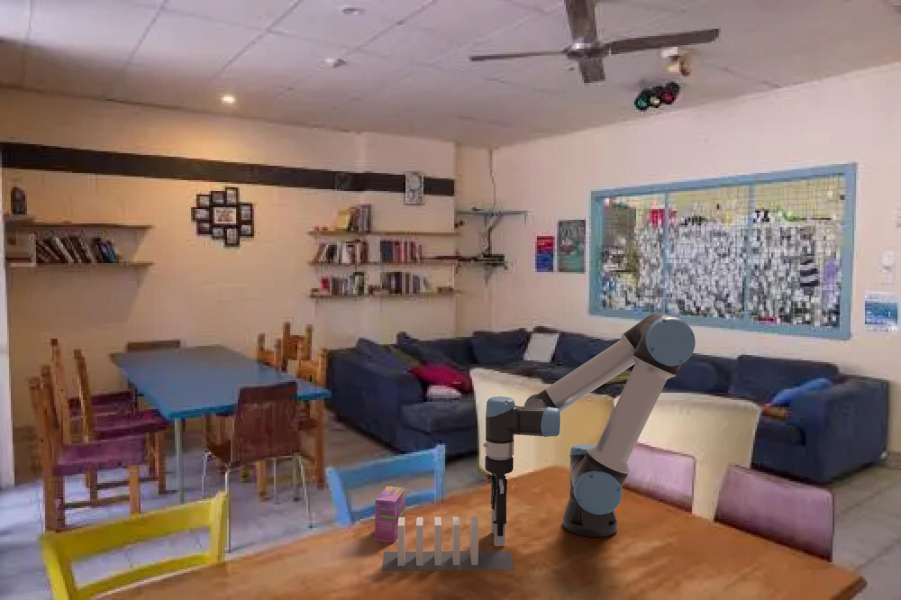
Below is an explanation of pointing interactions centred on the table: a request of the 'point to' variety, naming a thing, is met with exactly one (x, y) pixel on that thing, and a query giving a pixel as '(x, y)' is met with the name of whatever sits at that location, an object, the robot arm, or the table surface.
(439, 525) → the domino
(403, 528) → the domino
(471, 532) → the domino
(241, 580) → the table surface
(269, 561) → the table surface
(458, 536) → the domino
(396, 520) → the box
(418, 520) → the domino
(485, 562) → the mat
